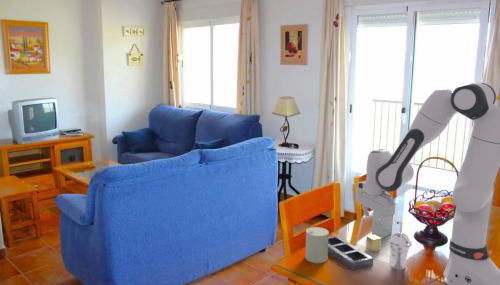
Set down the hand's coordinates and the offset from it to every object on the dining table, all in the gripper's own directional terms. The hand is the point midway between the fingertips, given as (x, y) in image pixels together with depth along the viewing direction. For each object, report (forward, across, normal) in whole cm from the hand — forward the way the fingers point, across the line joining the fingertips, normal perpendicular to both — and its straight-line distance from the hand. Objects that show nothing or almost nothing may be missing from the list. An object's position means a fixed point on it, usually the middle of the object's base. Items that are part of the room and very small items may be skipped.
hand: (373, 219), depth 181 cm
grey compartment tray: (+14, 0, +14) cm, 19 cm away
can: (+14, +2, +26) cm, 29 cm away
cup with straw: (+13, -17, +1) cm, 21 cm away
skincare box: (+14, +11, -15) cm, 24 cm away
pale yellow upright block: (+14, -1, 0) cm, 14 cm away
